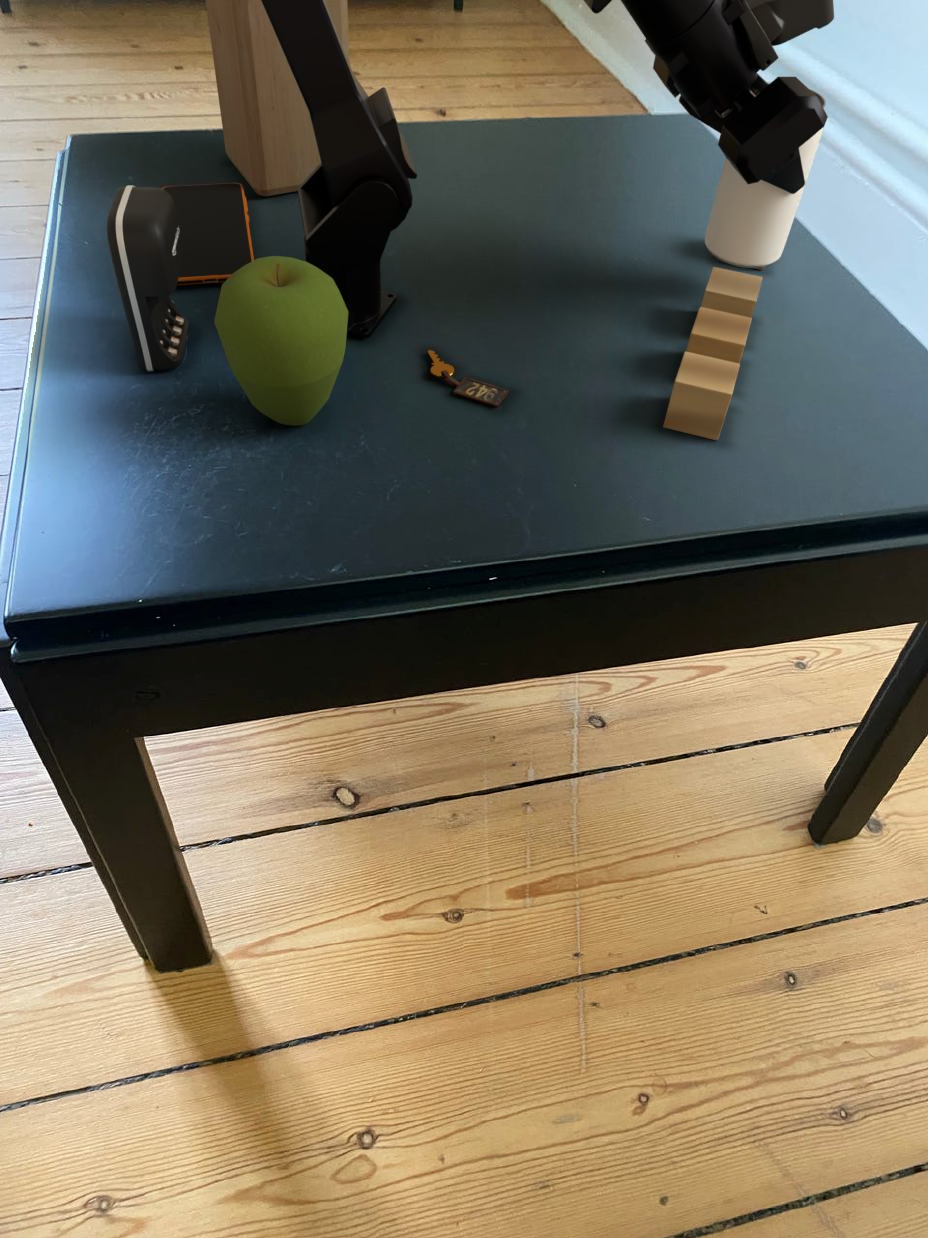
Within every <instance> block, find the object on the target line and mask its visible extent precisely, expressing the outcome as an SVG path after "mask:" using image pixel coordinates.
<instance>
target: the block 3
mask: <svg viewBox="0 0 928 1238" xmlns="http://www.w3.org/2000/svg"><path fill="white" fill-rule="evenodd" d="M740 367H741V363H734V362H730V361H725V360H721V359H717V358H712V357H708V356H704V355H699V354H695V353H690V352H686V351H684V353H683V355H682V359H681V362H680V365H679V368H678V371H677V373H676V375H675V379H674V382H673V387H672V390H671V395H670V398H669V402H668V405H667V410H666V414H665V418H664V422H663V425H662V427H663V428H664V429H668V430H673V431H676V432H681V433H684V434H688V435H692V436H697V437H701V438H704V439H709V440H714V441H719V438H720V435H721V432H722V429H723V426H724V422H725V420H726V416H727V414H728V409H729V406H730V403H731V400H732V396H733V394H734V389H735V386H736V381H737V379H738V375H739V374H738V373H739V371H740Z"/></svg>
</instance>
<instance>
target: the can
mask: <svg viewBox="0 0 928 1238" xmlns="http://www.w3.org/2000/svg"><path fill="white" fill-rule="evenodd" d="M766 82H767V83H768V84H770V83H771V82H772V81H766ZM809 89H810V88H809ZM810 90H811V91H812V92H813V93H814V94H815V95H816V96H817V97H818V99H819V101H820V103H821V105H822V107H823V109H825V107H826V104H827V103H826V100H825V98H824V96H823V95H821V94H820V93H818V92H817V91H815V90H814V89H810ZM750 92H751V93H752V91H750ZM752 94H753V93H752ZM753 95H754V96H755V94H753ZM739 111H740V110H739ZM824 127H825V126H824ZM824 127H823V128H822V129H821V130H819V131H818V132H817V133H816V134H815V135H814V136H812V137H811V138H810V139H809V140H808V141H806V142H805V143H804V144H803V145H802V146H800V147H799V152H800V157H801V163H802V168H803V174H804V179H805V185H804V186H803V187H802V188H801V189H800V190H799V191H797V192H796V193H795V194H791V193H789V192H787V191H785V190H782V189H780V188H778V187H776V186H774V185H772V184H769V183H767V182H765V181H763V180H760V181H759V182H757V183H752V184H747V183H746V181H745V180H744V179H743V178H742V177H741V176H740V174H739V173H738V172H737V171H736V170H735V168H734V167H733V166H732V164H731V163H730V162H729V160H728V159H727V158H726V157H725V159H724V163H723V166H722V169H721V170H722V171H721V174H720V177H719V181H718V185H717V189H716V193H715V197H714V201H713V205H712V208H711V212H710V216H709V219H708V224H707V228H706V231H705V235H704V244H705V246H706V249H707V251H708V253H709V254H711V255H712V256H713V257H714V258H715V259H717V260H720V261H719V262H721V261H722V262H721V263H725V264H727V265H730V266H734V267H736V268H744V269H754V268H761V267H764V268H765V267H769V266H771V265H772V264H774V263H775V262H776V261H778V260H779V259H780V258H781V257H782V254H783V251H784V249H785V247H786V244H787V241H788V238H789V235H790V232H791V229H792V226H793V223H794V221H795V217H796V214H797V211H798V208H799V205H800V202H801V199H802V196H803V192H804V190H805V187H806V183H807V181H808V177H809V176H810V172H811V169H812V166H813V162H814V159H815V157H816V154H817V152H818V151H817V150H818V148H819V144H820V141H821V138H822V136H823V131H824Z"/></svg>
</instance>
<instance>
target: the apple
mask: <svg viewBox="0 0 928 1238" xmlns="http://www.w3.org/2000/svg"><path fill="white" fill-rule="evenodd" d="M213 322H214V325H215V328H216V331H217V334H218V337H219V339H220V342H221V345H222V348H223V351H224V353H225V357H226V359H227V361H228V364H229V367H230V369H231V372H232V373H233V375H234V377H235V378H236V381H237V382H238V384H239V385H240V387H241V388H242V390H243V392H244V393H245V395H246V396H247V399H248V400H249V402H250V404H251V405H252V406H253V407H254V408H256V410H258V411H259V412H260V413H261V414H263V415H264V416H266V417H267V418H269V419H271V420H273V421H274V422H276V423H278V424H280V425H285V426H295V427H296V426H305V425H306V424H309V423H310V422H311V421H312V420H313V419H314V418H315V417H316V416H317V414H318V413H319V412H320V411H321V409H323V407H324V406H325V404H326V403H327V402H328V400H329V399H330V396H331V394H332V391H333V388H334V386H335V383H336V380H337V378H338V376H339V372H340V370H341V368H342V365H343V362H344V357H345V353H346V347H347V336H348V335H347V324H348V310H347V307H346V305H345V303H344V301H343V298H342V296H341V294H340V291H339V289H338V287H337V286H336V284H335V282H334V280H333V278H331V277H330V276H328V275H327V274H326V273H324V272H323V271H321V270H320V269H319V268H317V267H315V266H313V265H312V264H310V263H308V262H306V260H303V259H298V258H295V257H290V256H282V255H281V256H280V255H269V256H261V257H257V258H254V261H252V262H250V263H248V264H246V265H245V266H243V267H242V268H240V269H239V270H237V271H236V272H234V273H233V274H232V275H231V276H230V277H229V278H228V279H227V280H226V281H225V282H222V284H221V288H220V293H219V297H218V302H217V307H216V311H215V316H214V320H213Z"/></svg>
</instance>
